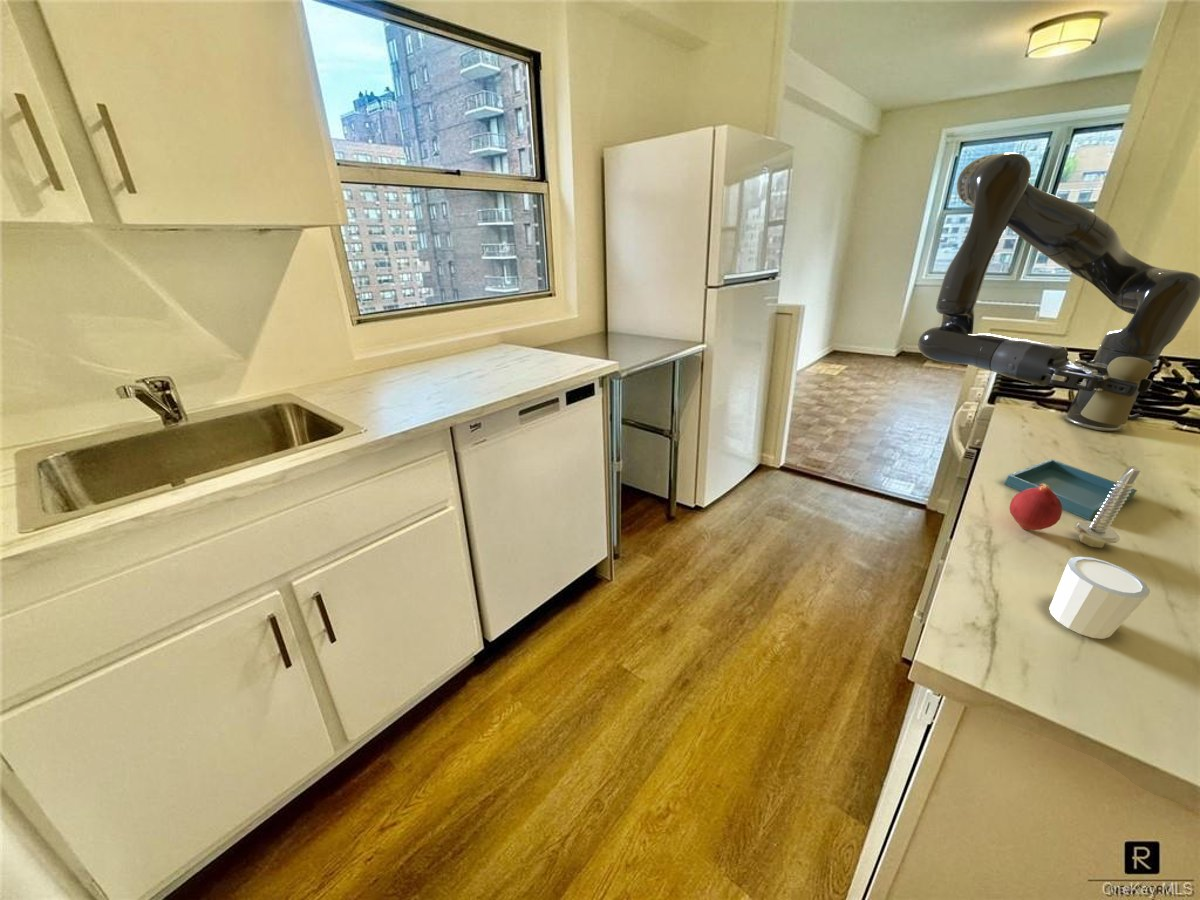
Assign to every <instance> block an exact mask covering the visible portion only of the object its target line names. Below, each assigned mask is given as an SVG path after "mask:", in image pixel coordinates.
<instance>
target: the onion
mask: <svg viewBox="0 0 1200 900" xmlns="http://www.w3.org/2000/svg"><path fill="white" fill-rule="evenodd" d="M1009 513H1010V515H1011V516H1012V518H1013V519H1014V521H1015V522H1016V523H1017V524H1018V525H1019V527H1020V528H1021V529H1022V530H1024V531H1040V530H1044V529H1048V528H1051V527H1052V526H1054V525H1057V524H1058V522H1059V521H1060V520H1061V516H1062V513H1063V509H1062V504H1061V502H1060V500H1059V498H1058V497H1057V496H1056V495H1055V494H1054V493H1053V492H1052V490H1051V489H1050V488H1049V486H1048V485H1046V484H1040V486H1039V488H1030V489H1026V490H1024V491H1019V492H1018V493H1017V494H1015V495H1014V496H1013V498H1011V500H1010V503H1009Z"/></svg>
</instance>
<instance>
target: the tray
mask: <svg viewBox="0 0 1200 900" xmlns="http://www.w3.org/2000/svg"><path fill="white" fill-rule="evenodd" d="M1040 484H1046V485H1048V486H1049V488H1050V489H1051V490H1052V492H1053V493H1054V494H1055V495H1056V496H1057V497H1058V498H1059V500H1060V502H1061V504H1062V510H1064V511H1067V512H1069V513H1070V514H1074V515H1076V516H1078V517H1080V518H1083V519H1085V520H1087V521H1091V520H1094V519H1096V517H1095V516H1098V512H1100V510H1099V509H1102V507H1101V506H1102V505H1104V503H1103V502H1106V501H1107V500H1105V499H1108V496H1107V495H1110V494H1111V493H1110V492H1112V489H1111V488H1114V487H1115V486H1114V484H1117V482H1116V481H1114V480H1111V479H1107V478H1104V477H1102V476H1099V475H1097V474H1094V473H1091V472H1089V471H1086V470H1083V469H1080V468H1078V467H1075V466H1072V465H1069V464H1066V463H1063V462H1061V461H1058V460H1055V459H1053V458H1050V459H1047V460H1045V461H1042V462H1039V463H1037V464H1035V465H1031V466H1029V467H1027V468H1024V469H1021V470H1019V471H1015V472H1013V473H1010V474H1008V475H1007V477H1006V480H1005V482H1004V485H1006V486H1007V487H1010V488H1013V489H1015V490H1017V491H1019V492H1022V491H1024V490H1026V489H1030V488H1039V486H1040ZM1136 492H1137V489H1136V488H1133V489H1131V493H1128V494H1129V496H1128V497H1126V498H1127V500H1125V501H1124V502H1125V503H1127V502H1129V501H1131V500H1132V499H1133V497H1134V496H1135V494H1136Z"/></svg>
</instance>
